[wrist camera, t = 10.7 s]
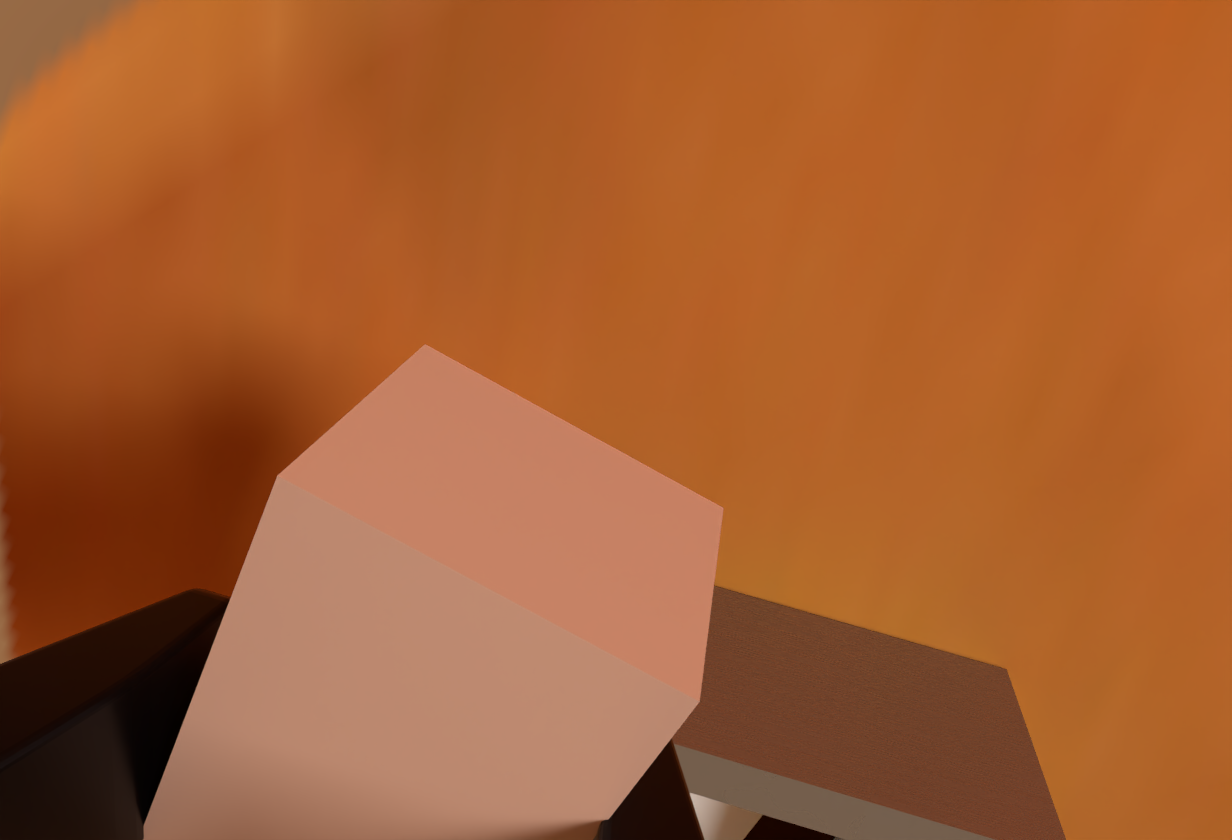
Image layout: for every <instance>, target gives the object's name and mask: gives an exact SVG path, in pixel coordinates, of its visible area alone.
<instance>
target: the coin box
mask: <svg viewBox="0 0 1232 840" xmlns="http://www.w3.org/2000/svg"><path fill="white" fill-rule="evenodd" d="M672 740H673V743H674V746H675V750H676V753H677V756H678V759H679V762H680V765H681V768H682V771H683V774H684V777H685V781H686V784H687V787H688V790H689V793H693V794H696V795H699V796H703V797H706V798H709V799H713V800H716V801H719V802H723V803H726V804H729V805H733V806H736V807H739V808H743V809H746V810H749V811H753V812H756V813H759V814H762V815H766V816H769V817H772V818H776V819H779V820H782V821H786V822H789V823H792V824H796V825H799V826H802V827H806V828H809V829H812V830H816V831H819V832H822V833H825V834H829V835H832V836H835V837H834V839H833V840H1066V838H1065V835H1064V833H1063V830H1062V827H1061V824H1060V821H1059V818H1058V815H1057V813H1056V810H1055V807H1054V804H1053V801H1052V798H1051V795H1050V793H1049V790H1048V787H1047V784H1046V781H1045V778H1044V775H1043V772H1042V770H1041V767H1040V764H1039V761H1038V758H1037V755H1036V752H1035V750H1034V747H1033V744H1032V741H1031V738H1030V735H1029V732H1028V729H1027V727H1026V724H1025V721H1024V718H1023V715H1022V712H1021V709H1020V707H1019V704H1018V701H1017V698H1016V695H1015V692H1014V689H1013V687H1012V684H1011V681H1010V678H1009V675H1008V672H1007V669H1003V668H1000V667H996V666H993V665H989V664H986V663H982V662H979V661H975V660H972V659H968V658H965V657H961V656H958V655H954V654H951V653H947V652H944V651H940V650H937V649H933V648H930V647H926V646H923V645H919V644H916V643H912V642H909V641H905V640H902V639H898V638H895V637H891V636H888V635H884V634H881V633H877V632H874V631H870V630H867V629H863V628H860V627H856V626H853V625H849V624H846V623H842V622H839V621H835V620H832V619H828V618H825V617H821V616H818V615H814V614H811V613H807V612H804V611H800V610H797V609H793V608H790V607H786V606H783V605H779V604H776V603H772V602H769V601H765V600H762V599H758V598H755V597H751V596H748V595H744V594H741V593H737V592H734V591H730V590H727V589H723V588H720V587H716V586H714V589H713V597H712V605H711V613H710V622H709V630H708V638H707V646H706V654H705V662H704V671H703V679H702V687H701V695H700V702H699V703H698V705H697V706H696V707H695V708H694V710H693V711H692V712H691V714H690V715H689V716H688V717H687V719H686V720H685V721H684V723H683V724H682V725H681V727H680V728H679V729H678V730H677V732H676V733H675V734H674V736H673V737H672Z"/></svg>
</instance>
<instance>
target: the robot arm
mask: <svg viewBox="0 0 1232 840" xmlns="http://www.w3.org/2000/svg"><path fill="white" fill-rule="evenodd" d="M230 598H231V597H228V596H224V595H221V594H217V593H214V592H211V591H207V590H204V589H191V590H188V591H185V592H182V593H180V594H177V595H174V596H172V597H169V598H167V599H164V600H162V601H159V602H157V603H154V604H152V605H149V606H147V607H144V608H141V609H139V610H136V611H134V612H131V613H129V614H126V615H124V616H121V617H119V618H116V619H114V620H111V621H108V622H106V623H103V624H101V625H98V626H96V627H93V628H91V629H88V630H86V631H83V632H80V633H78V634H75V635H73V636H70V637H68V638H65V639H63V640H60V641H58V642H55V643H53V644H50V645H47V646H45V647H42V648H40V649H37V650H35V651H32V652H30V653H27V654H25V655H22V656H20V657H17V658H14V659H12V660H9V661H7V662H4V663H2V664H0V840H143V839H144V827H143V826H144V824H145V821H146V818H147V816H148V813H149V810H150V808H151V805H152V803H153V800H154V797H155V795H156V792H157V790H158V787H159V784H160V782H161V779H162V776H163V774H164V771H165V769H166V766H167V763H168V761H169V758H170V755H171V753H172V750H173V748H174V745H175V742H176V740H177V737H178V735H179V732H180V729H181V727H182V724H183V721H184V719H185V716H186V714H187V711H188V708H189V706H190V703H191V700H192V698H193V695H194V693H195V690H196V687H197V685H198V682H199V680H200V677H201V674H202V672H203V669H204V666H205V664H206V661H207V659H208V656H209V653H210V651H211V648H212V645H213V643H214V640H215V638H216V635H217V632H218V630H219V627H220V625H221V622H222V619H223V617H224V614H225V611H226V609H227V606H228V604H229V601H230ZM593 840H705V839H704V836H703V833H702V830H701V827H700V824H699V821H698V818H697V815H696V812H695V808H694V805H693V802H692V799H691V796H690V793H689V790H688V787H687V784H686V781H685V777H684V774H683V771H682V768H681V765H680V762H679V759H678V756H677V753H676V750H675V746H674V743H673V740H672V738H671V739H670V741H669V742H668V743H667V745H666V746H665V747H664V748H663V750H662V751H661V752H660V754H659V755H658V756H657V758H656V759H655V760H654V761H653V763H652V764H651V765H650V767H649V768H648V769H647V770H646V772H645V773H644V774H643V776H642V777H641V778H640V780H639V781H638V782H637V783H636V785H635V786H634V787H633V789H632V790H631V791H630V792H629V794H628V795H627V796H626V798H625V799H624V800H623V802H622V803H621V804H620V805H619V807H618V808H617V809H616V811H615V812H614V813H613V814H612V816H611V817H610V818H609V820H604V821H602V822H601V823H600V825H599V828H598V831H597V835H596V836H595V838H594V839H593Z"/></svg>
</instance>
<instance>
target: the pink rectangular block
mask: <svg viewBox="0 0 1232 840" xmlns="http://www.w3.org/2000/svg"><path fill="white" fill-rule="evenodd" d="M722 515H723V508H722V507H721V506H719V505H717V504H715V503H713V502H711V501H710V500H708V499H706V498H704V497H702V496H701V495H699V494H697V493H695V492H693V491H691V490H690V489H688V488H686V487H684V486H682V485H681V484H679V483H677V482H675V481H673V480H671V479H670V478H668V477H666V476H664V475H662V474H660V473H659V472H657V471H655V470H653V469H651V468H650V467H648V466H646V465H644V464H642V463H640V462H639V461H637V460H635V459H633V458H631V457H630V456H628V455H626V454H624V453H622V452H620V451H619V450H617V449H615V448H613V447H611V446H609V445H608V444H606V443H604V442H602V441H600V440H599V439H597V438H595V437H593V436H591V435H589V434H588V433H586V432H584V431H582V430H580V429H578V428H577V427H575V426H573V425H571V424H569V423H568V422H566V421H564V420H562V419H560V418H558V417H557V416H555V415H553V414H551V413H549V412H548V411H546V410H544V409H542V408H540V407H538V406H537V405H535V404H533V403H531V402H529V401H527V400H526V399H524V398H522V397H520V396H518V395H517V394H515V393H513V392H511V391H509V390H507V389H506V388H504V387H502V386H500V385H498V384H497V383H495V382H493V381H491V380H489V379H487V378H486V377H484V376H482V375H480V374H478V373H476V372H475V371H473V370H471V369H469V368H467V367H466V366H464V365H462V364H460V363H458V362H456V361H455V360H453V359H451V358H449V357H447V356H445V355H444V354H442V353H440V352H438V351H436V350H435V349H433V348H431V347H429V346H427V345H424V346H423V347H421V348H420V349H419V350H418V351H417V352H416V353H415V354H414V355H412V356H411V357H410V358H409V359H408V360H407V361H406V362H405V363H403V364H402V365H401V366H400V367H399V368H398V369H397V370H396V371H394V372H393V373H392V374H391V375H390V376H389V377H388V378H387V379H385V380H384V381H383V382H382V383H381V384H380V385H379V386H378V387H376V388H375V389H374V390H373V391H372V392H371V393H370V394H369V395H367V396H366V397H365V398H364V399H363V400H362V401H361V402H360V403H358V404H357V405H356V406H355V407H354V408H353V409H352V410H351V411H349V412H348V413H347V414H346V415H345V416H344V417H343V418H342V419H340V420H339V421H338V422H337V423H336V424H335V425H334V426H333V427H331V428H330V429H329V430H328V431H327V432H326V433H325V434H324V435H322V436H321V437H320V438H319V439H318V440H317V441H316V442H315V443H313V444H312V445H311V446H310V447H309V448H308V449H307V450H306V451H304V452H303V453H302V454H301V455H300V456H299V457H298V458H297V459H295V460H294V461H293V462H292V463H291V464H290V465H289V466H288V467H286V468H285V469H284V470H283V471H282V472H281V473H280V474H279V475H277V478H276V480H275V483H274V486H273V488H272V491H271V494H270V496H269V499H268V501H267V504H266V507H265V509H264V512H263V515H262V517H261V520H260V522H259V525H258V528H257V530H256V533H255V535H254V538H253V541H252V543H251V546H250V549H249V551H248V554H247V556H246V559H245V562H244V564H243V567H242V570H241V572H240V575H239V577H238V580H237V583H236V585H235V588H234V590H233V593H232V596H231V598H230V601H229V604H228V606H227V609H226V611H225V614H224V617H223V619H222V622H221V625H220V627H219V630H218V632H217V635H216V638H215V640H214V643H213V645H212V648H211V651H210V653H209V656H208V659H207V661H206V664H205V666H204V669H203V672H202V674H201V677H200V680H199V682H198V685H197V687H196V690H195V693H194V695H193V698H192V700H191V703H190V706H189V708H188V711H187V714H186V716H185V719H184V721H183V724H182V727H181V729H180V732H179V735H178V737H177V740H176V742H175V745H174V748H173V750H172V753H171V755H170V758H169V761H168V763H167V766H166V769H165V771H164V774H163V776H162V779H161V782H160V784H159V787H158V790H157V792H156V795H155V797H154V800H153V803H152V805H151V808H150V810H149V813H148V816H147V818H146V821H145V824H144V826H143V827H144V839H143V840H593V839H594V838H595V836H596V835H597V831H598V828H599V825H600V823H601V822H602V821H604V820H609V818H610V817H611V816H612V814H613V813H614V812H615V811H616V809H617V808H618V807H619V805H620V804H621V803H622V802H623V800H624V799H625V798H626V796H627V795H628V794H629V792H630V791H631V790H632V789H633V787H634V786H635V785H636V783H637V782H638V781H639V780H640V778H641V777H642V776H643V774H644V773H645V772H646V770H647V769H648V768H649V767H650V765H651V764H652V763H653V761H654V760H655V759H656V758H657V756H658V755H659V754H660V752H661V751H662V750H663V748H664V747H665V746H666V745H667V743H668V742H669V741H670V739H671V738H672V737H673V736H674V734H675V733H676V732H677V730H678V729H679V728H680V727H681V725H682V724H683V723H684V721H685V720H686V719H687V717H688V716H689V715H690V714H691V712H692V711H693V710H694V708H695V707H696V706H697V705H698V703H699V702H700V695H701V687H702V679H703V671H704V662H705V654H706V646H707V638H708V630H709V622H710V613H711V605H712V597H713V589H714V581H715V573H716V564H717V556H718V548H719V540H720V532H721V524H722Z"/></svg>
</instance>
